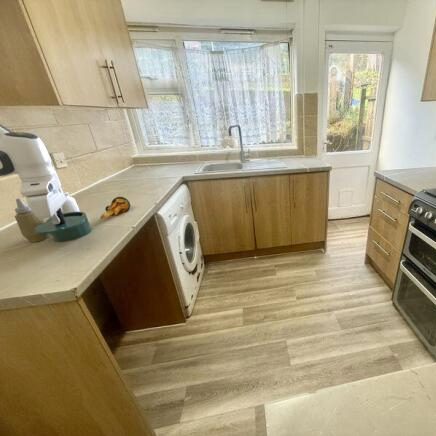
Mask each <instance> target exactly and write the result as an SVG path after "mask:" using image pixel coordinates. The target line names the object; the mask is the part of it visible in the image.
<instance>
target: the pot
mask: <svg viewBox="0 0 436 436" xmlns="http://www.w3.org/2000/svg"><path fill="white" fill-rule="evenodd" d="M63 215H64V217H70V216H82V217H84V218H85V221H84V222H83V223H82V224H80V225H78V226H76V227H73V228H70V229H67V230H64V231H59V232H54V233H50V235H51V237H52V239H53V240H54V242H57V243H65V242H70V241H73V240H77V238H78V239H81V238H83V237H85V236H87V235H88V234H90V233H91V232H92V227H91V223H90V221H89V219H88V217H87V214H86V213H85V212H84V211H80V212H69V213H64V214H63ZM46 219H47V220H46V221H45V222H48V221H51V220H50V219H49V218H46Z"/></svg>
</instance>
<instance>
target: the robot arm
mask: <svg viewBox="0 0 436 436" xmlns="http://www.w3.org/2000/svg"><path fill="white" fill-rule="evenodd" d="M13 175H18V177H19V180H20V181H21V185H20V189H19V193H20V195H21V196H22V197H25V200H26V203H27V206H29V207H30V208H31V210H32V212H33V214H34V215H35V216H36V217H37V218H38V219H43V220H44V219H50V220H51V221H52V223H53V224H59V223H60V222H61V221H60V219H59V218H58V217H57V215H56V214H57V213H56V211H57V210H61V211H62V207H61V206H62V205H63V203H64V202H65V201H66V197H65V195H64V192H65V191H64V190H63V189H62V186H63V185H62V182H61V181H60V178H59V175H58V174H57V171H56V169H54V167H53V165H52V159H51V156H50V153H49V151H48V149H47V147H46V145H45V144H44V142H43V140H42V139H41V138H40V137H39V136H38V135H35V134H34V133H30V132H17V131H12V130H11V129H8V128H7V127H6V126H4V125H2V124H0V177H7V176H13Z"/></svg>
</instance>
